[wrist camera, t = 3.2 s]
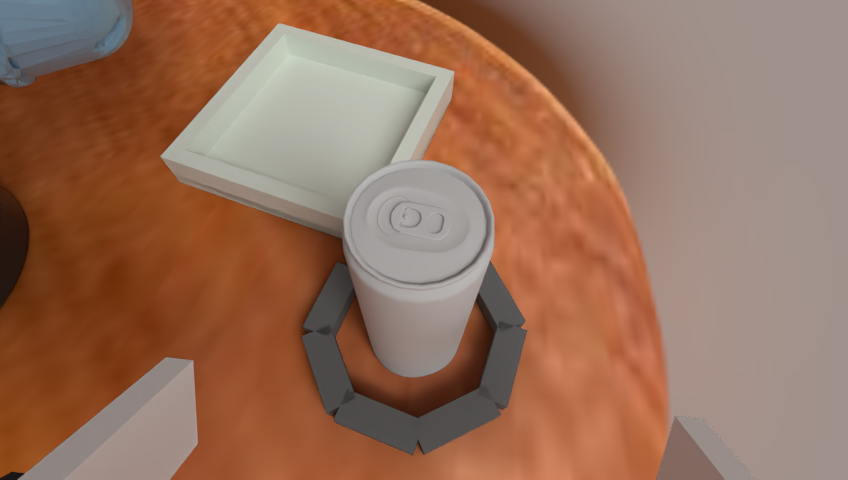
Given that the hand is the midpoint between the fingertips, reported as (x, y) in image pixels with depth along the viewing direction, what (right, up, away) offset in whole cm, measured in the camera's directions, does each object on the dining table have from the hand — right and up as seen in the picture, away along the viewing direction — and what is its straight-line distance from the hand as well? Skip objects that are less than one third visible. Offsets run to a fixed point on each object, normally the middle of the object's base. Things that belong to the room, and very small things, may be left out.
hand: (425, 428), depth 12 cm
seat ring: (0, 0, +11) cm, 11 cm away
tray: (-7, +12, +18) cm, 23 cm away
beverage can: (-1, 0, +12) cm, 12 cm away
